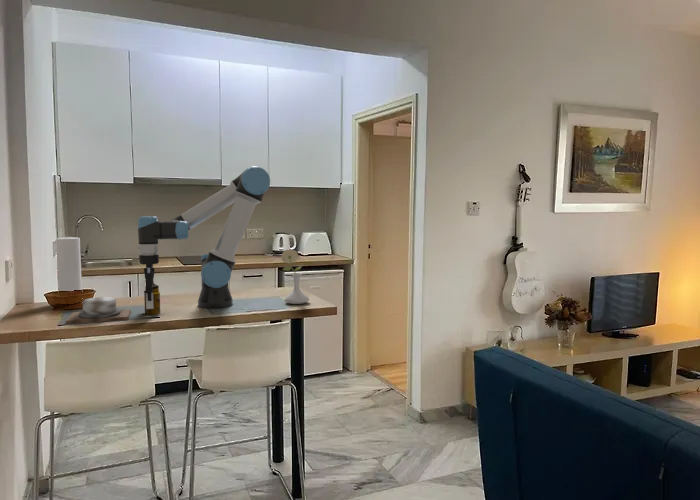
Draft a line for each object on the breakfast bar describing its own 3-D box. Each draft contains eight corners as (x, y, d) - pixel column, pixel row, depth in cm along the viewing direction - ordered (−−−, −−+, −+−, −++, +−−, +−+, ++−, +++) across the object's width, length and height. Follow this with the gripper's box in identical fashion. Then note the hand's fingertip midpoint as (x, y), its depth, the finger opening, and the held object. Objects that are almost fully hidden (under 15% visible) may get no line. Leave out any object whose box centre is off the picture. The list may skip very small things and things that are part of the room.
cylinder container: (72, 305, 234) (69, 238, 232) (54, 304, 236) (51, 237, 233) (87, 301, 244) (84, 236, 241) (69, 300, 246) (66, 236, 243)
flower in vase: (311, 301, 247) (311, 248, 245) (306, 306, 236) (306, 250, 234) (283, 300, 249) (283, 247, 246) (278, 305, 237) (277, 250, 235)
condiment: (165, 313, 219) (164, 285, 218) (148, 317, 212) (147, 288, 211) (152, 311, 223) (151, 283, 222) (136, 315, 216) (135, 286, 214)
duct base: (131, 311, 222) (130, 295, 221) (128, 319, 208) (127, 301, 207) (72, 315, 215) (71, 297, 214) (66, 323, 201) (65, 305, 200)
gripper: (140, 251, 226) (142, 300, 228) (137, 257, 202) (139, 312, 204) (159, 250, 228) (160, 299, 230) (158, 257, 205) (159, 310, 207)
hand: (150, 305), depth 217 cm, fingers open, 13 cm apart
